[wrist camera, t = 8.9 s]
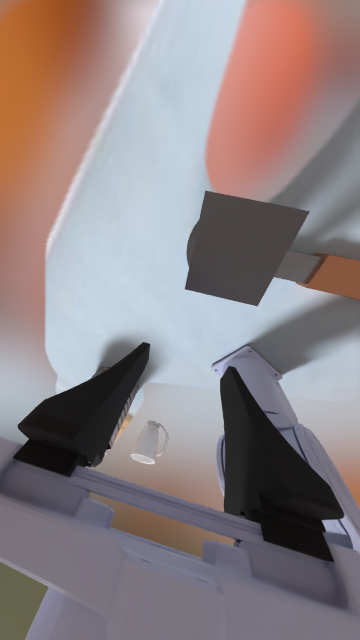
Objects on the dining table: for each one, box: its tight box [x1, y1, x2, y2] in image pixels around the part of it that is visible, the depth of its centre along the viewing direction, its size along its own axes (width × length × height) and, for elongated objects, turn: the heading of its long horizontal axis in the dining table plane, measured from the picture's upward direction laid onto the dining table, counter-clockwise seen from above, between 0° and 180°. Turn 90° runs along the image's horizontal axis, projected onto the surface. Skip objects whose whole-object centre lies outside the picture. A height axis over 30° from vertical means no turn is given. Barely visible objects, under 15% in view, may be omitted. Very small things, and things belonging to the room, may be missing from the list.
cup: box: [131, 421, 168, 464], centre depth 38 cm, size 7×10×8 cm
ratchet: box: [187, 221, 360, 299], centre depth 13 cm, size 21×8×4 cm, turn 80°
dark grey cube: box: [185, 191, 310, 306], centre depth 11 cm, size 6×6×6 cm
